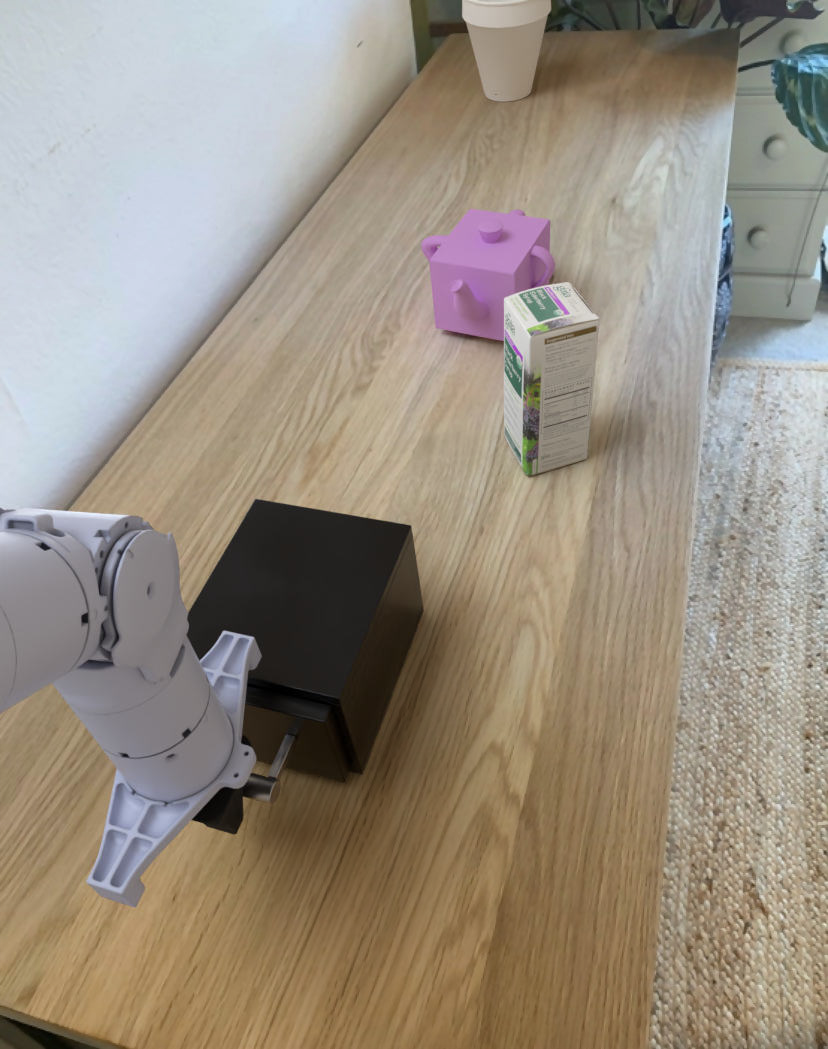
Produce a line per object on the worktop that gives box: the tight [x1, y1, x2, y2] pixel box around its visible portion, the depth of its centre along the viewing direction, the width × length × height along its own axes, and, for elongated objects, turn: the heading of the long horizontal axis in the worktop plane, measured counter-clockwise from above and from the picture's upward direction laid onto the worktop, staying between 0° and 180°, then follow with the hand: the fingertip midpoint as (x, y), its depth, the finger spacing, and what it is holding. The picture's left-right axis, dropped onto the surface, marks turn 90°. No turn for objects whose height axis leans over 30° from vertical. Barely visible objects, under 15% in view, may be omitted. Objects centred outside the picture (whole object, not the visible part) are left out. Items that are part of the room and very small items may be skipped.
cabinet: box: [186, 498, 425, 776], centre depth 58 cm, size 14×12×10 cm
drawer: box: [242, 683, 351, 805], centre depth 55 cm, size 17×10×8 cm, turn 162°
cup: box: [461, 0, 552, 103], centre depth 121 cm, size 12×12×14 cm
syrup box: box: [503, 281, 600, 477], centre depth 69 cm, size 6×6×14 cm
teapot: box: [420, 208, 556, 342], centre depth 85 cm, size 18×14×10 cm
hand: (224, 822), depth 50 cm, fingers closed
